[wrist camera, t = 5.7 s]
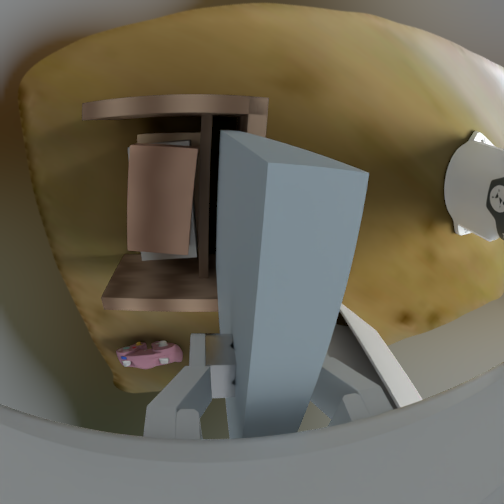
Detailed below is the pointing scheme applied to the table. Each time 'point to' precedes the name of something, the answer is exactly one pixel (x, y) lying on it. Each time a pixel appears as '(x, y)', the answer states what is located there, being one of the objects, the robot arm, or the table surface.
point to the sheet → (281, 272)
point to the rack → (204, 265)
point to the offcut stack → (164, 195)
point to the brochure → (371, 359)
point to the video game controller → (149, 354)
